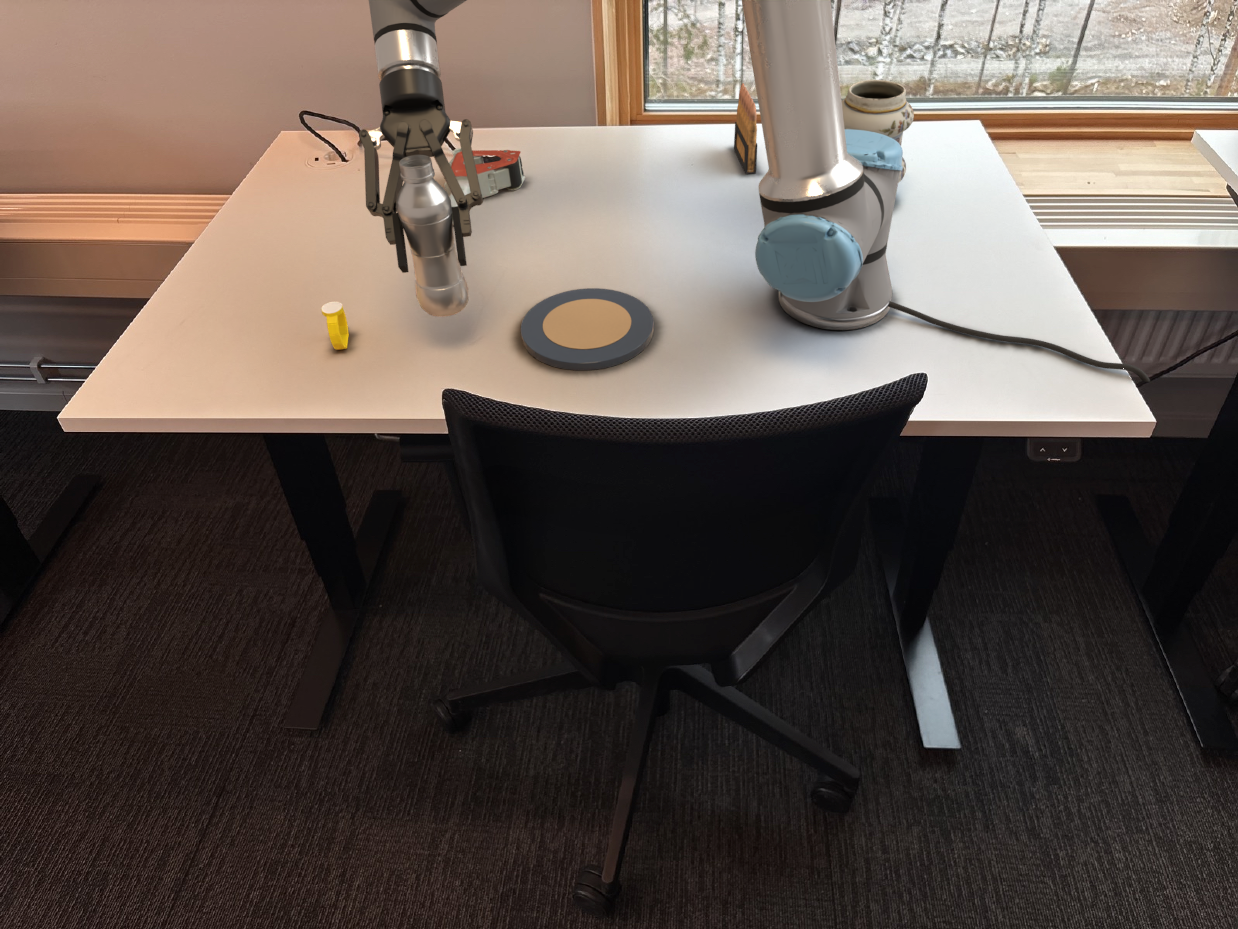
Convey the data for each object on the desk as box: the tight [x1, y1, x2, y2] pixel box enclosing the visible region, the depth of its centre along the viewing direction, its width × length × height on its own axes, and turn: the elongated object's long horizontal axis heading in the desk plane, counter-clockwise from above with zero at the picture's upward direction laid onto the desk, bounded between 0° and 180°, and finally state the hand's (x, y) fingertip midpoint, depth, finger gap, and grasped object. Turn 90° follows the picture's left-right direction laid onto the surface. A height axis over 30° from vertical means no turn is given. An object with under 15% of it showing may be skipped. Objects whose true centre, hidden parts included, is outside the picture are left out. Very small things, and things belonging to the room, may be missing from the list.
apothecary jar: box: [841, 79, 915, 184], centre depth 140 cm, size 12×12×18 cm
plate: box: [520, 287, 655, 371], centre depth 121 cm, size 18×18×1 cm
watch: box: [320, 301, 350, 351], centre depth 120 cm, size 6×3×6 cm, turn 7°
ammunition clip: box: [733, 82, 758, 175], centre depth 155 cm, size 11×2×12 cm, turn 6°
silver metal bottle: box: [396, 155, 469, 318], centre depth 110 cm, size 6×7×20 cm
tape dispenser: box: [443, 147, 526, 226], centre depth 152 cm, size 18×5×20 cm
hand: (433, 265), depth 108 cm, fingers closed on silver metal bottle, 6 cm apart
